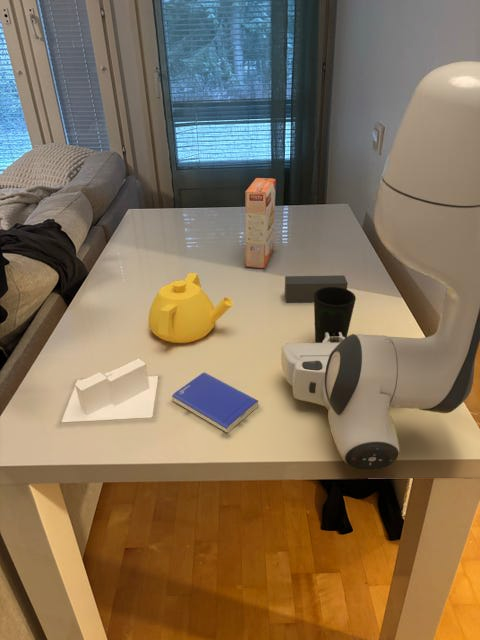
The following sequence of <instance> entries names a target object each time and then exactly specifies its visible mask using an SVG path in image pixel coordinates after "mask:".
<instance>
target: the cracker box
mask: <svg viewBox="0 0 480 640" xmlns="http://www.w3.org/2000/svg"><path fill="white" fill-rule="evenodd" d="M276 184H277V179H276V178H270V177H269V178H267V177H265V178H264V177H255V179H254V180H253V181H252V183H251V184H250V185H249V186H248V188H247V189H246V190H245V197H244V198H245V203H244V205H245V208H244V209H245V214H244V215H245V217H244V219H245V221H244V222H245V223H244V224H245V229H244V230H245V234H244V235H245V238H244V240H245V242H244V244H245V245H244V246H245V247H244V248H245V249H244V250H245V251H244V252H245V253H244V254H245V255H244V256H245V257H244V259H245V260H244V261H245V262H244V263H245V268H252V269H253V268H254V269H266V267H267V265H268V263H269V260H270V258H271V256H272V253H273V251H274V237H275V214H276V213H275V211H276V210H275V209H276V186H277V185H276Z"/></svg>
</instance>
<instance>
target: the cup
mask: <svg viewBox="0 0 480 640" xmlns="http://www.w3.org/2000/svg"><path fill="white" fill-rule="evenodd" d="M356 300H357V297H356V295H355V293H354V292H352V291H351V290H349V289H348V288H347V289H344V288H340V287H325V288H321V289H319V290H317V291H316V292H315V293H314V302H313V309H314V311H313V312H314V313H313V314H314V343H322V341H323V340H324V339H325V332H333V333H335V332H341V333H342V336H343V337H345V338H346V337H348V334H349V329H350V325H351V320H352V316H353V312H354V308H355V304H356Z"/></svg>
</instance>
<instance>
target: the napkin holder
mask: <svg viewBox="0 0 480 640" xmlns="http://www.w3.org/2000/svg"><path fill="white" fill-rule="evenodd" d="M147 369H148V368H147V364H146V363H145V362H144V361H143V360H141V359H140V358H137V359H134V360H132V361H129V362H128V363H126V364H124V365H122V366H120V367H117V368H115V369H113V370H111V371H110V370H109V371H108V372H105V373H104V374H103V373H102V372H101V371H99V372H97V373H95V374H93V375H91V376H88V377H87V378H85V379H76V383H74V387H73V390H72V393H71V395H70V398H69V401H68V403H67V406H66V409H65V411H64V414H63V416H62V419H61V421H60V423H74V422H75V423H76V422H92V421H93V422H95V421H112V420H131V419H133V420H134V419H151V418H153V415H154V408H155V402H156V396H157V395H156V393H157V388H158V383H159V375H148V370H147Z"/></svg>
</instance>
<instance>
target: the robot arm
mask: <svg viewBox="0 0 480 640" xmlns="http://www.w3.org/2000/svg"><path fill="white" fill-rule="evenodd" d="M379 180H380V181H379V184H378V188H377V193H376V195H375V196H376V197H375V202H374V208H373V209H374V211H373V224H374V229H375V232H376V235H377V236H378V239H379V240H380V242H381V244H382V245H383V246H384V247H385V249H386V250H387V251H388V252H389V253H390V254H391V255H392V256H393V257H394V258H396V259H397V261H399V262H401V263H402V264H403V265H405V266H407V267H408V268H410V269H412V270H413V271H416V272H418V273H420V274H423V275H424V276H426V277H429V278H431V279H433V280H434V281H437V282H439V283H441V284H442V285H444V286H445V292H444V297H443V303H442V307H441V312H440V317H439V322H438V325H437V331H436V332H435V333H433V334H432V335H429V336H426V337H425V336H424V337H403V336H387V335H379V334H354V333H352V334H349V335H347V337H346V338H345V337H343V336H342V333H341V332H335V333H333V332H325V339H324V340H323V341H322V343H315V342H286V343H284V344H283V345H282V346H281V349H280V363H281V369H282V372H283V375H284V378H285V380H286V381H287V383H288V384H289V385H290V386H291V387H292V395H293V398H294V399H296V400H299V401H304V402H309V403H313V404H317V405H320V406H323V407H325V408H326V409H327V410H328V412H327V420H328V424H329V429H330V432H331V435H332V438H333V441H334V444H335V446H336V449H337V451H338V453H339V455H340V457H341V459H342V460H343V461H344V463H345V464H347V465H348V466H349V467H351V468H353V469H357V470H381V469H383V468H386V467H388V466H390V465H392V464H393V463H395V462H396V461H397V460H398V458H399V456H400V442H399V437H398V434H397V430H396V426H395V422H394V420H393V416H392V414H391V411H390V408H392V409H394V408H395V409H413V410H419V411H426V412H431V413H440V414H450V413H451V412H453V411H455V410H456V409H458V408H459V407H460V406H461V405H462V404H463V403H464V402H466V400H467V399H468V397H469V396H470V394H471V393H472V389H473V384H474V378H475V365H476V364H475V363H476V357H477V352H478V350H479V346H480V61H474V60H465V61H456V62H452V63H448V64H444V65H441V66H439V67H437V68H435V69H433V70H430V72H428V73H427V74H426V75H425V76H424V77H422V79H421V80H420V81H419V82H418V84H417V85H416V87H415V88H414V91H413V92H412V94H411V97H410V99H409V101H408V103H407V104H406V107H405V110H404V112H403V114H402V116H401V118H400V121H399V123H398V125H397V128H396V131H395V133H394V136H393V139H392V141H391V144H390V146H389V150H388V153H387V156H386V158H385V162H384V166H383V169H382V173H381V176H380V179H379Z"/></svg>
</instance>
